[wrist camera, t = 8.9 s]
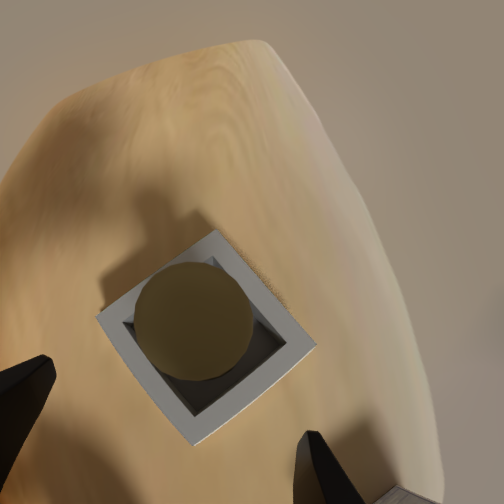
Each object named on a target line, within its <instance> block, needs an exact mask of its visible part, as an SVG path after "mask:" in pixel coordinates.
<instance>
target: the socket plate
mask: <svg viewBox="0 0 504 504" xmlns="http://www.w3.org/2000/svg"><path fill="white" fill-rule="evenodd" d="M183 262H201V263H207V264H210V265H212V266H215V267H217V268H220V269H222V270H224V271H225V272H226V273H227V274H229V275H230V276H231V277H232V278H234V279H235V280H236V281H237V282H238V284H239V285H240V286H241V288H242V289H243V291H244V292H245V294H246V295H247V297H248V299H249V303H250V306H251V309H252V313H253V334H252V337H251V340H250V342H249V345H248V348H247V351H246V352H245V353H244V355H243V356H242V357H241V358H240V360H239V361H238V362H237V363H236V365H235V366H234V367H233V368H232V370H231V371H229V372H228V373H226V374H225V375H223V376H221V377H220V378H216V379H212V380H208V381H206V380H202V381H192V380H180V379H177V378H175V377H173V376H170V375H168V374H166V373H163V372H161V371H160V370H159V369H158V368H157V367H156V366H155V365H153V364H152V363H151V362H150V361H149V360H148V359H147V358H146V356H145V354H144V353H143V351H142V349H141V347H140V346H139V344H138V342H137V337H136V333H135V328H134V323H133V320H134V311H135V304H136V301H137V299H138V297H139V295H140V293H141V290H142V288H143V287H144V286H145V285H146V283H147V282H148V281H149V280H150V279H151V278H152V277H153V276H154V275H155V274H156V273H158V272H160V271H161V270H163V269H165V268H167V267H168V266H170V265H174V264H179V263H183ZM95 317H96V319H97V320H98V322H99V324H100V325H101V327H102V329H103V330H104V332H105V333H106V335H107V337H108V338H109V340H110V341H111V343H112V344H113V346H114V347H115V349H116V351H117V352H118V353H119V355H120V356H121V358H122V359H123V361H124V362H125V364H126V365H127V367H128V368H129V369H130V371H131V372H132V374H133V375H134V376H135V378H136V379H137V380H138V382H139V383H140V384H141V386H142V387H143V388H144V390H145V391H146V392H147V394H148V395H149V396H150V397H151V399H152V400H153V401H154V403H155V404H156V405H157V406H158V408H159V409H160V410H161V411H162V412H163V414H164V415H165V416H166V417H167V418H168V420H169V421H170V422H171V423H172V424H173V425H174V426H175V428H176V429H177V430H178V431H179V432H180V433H181V434H182V435H183V437H184V438H185V439H186V440H187V441H188V442H189V443H190V444H191V445H192V446H193V445H194V446H195V445H197V444H198V443H200V442H201V441H202V440H204V439H205V438H207V437H208V436H209V435H211V434H212V433H214V432H215V431H216V430H218V429H219V428H220V427H222V426H223V425H224V424H226V423H227V422H228V421H230V420H231V419H232V418H234V417H235V416H236V415H237V414H239V413H240V412H241V411H243V410H244V409H245V408H246V407H248V406H249V405H250V404H251V403H253V402H254V401H255V400H256V399H257V398H259V397H260V396H261V395H262V394H264V393H265V392H266V391H267V390H268V389H269V388H271V387H272V386H273V385H274V384H275V383H276V382H278V381H279V380H280V379H281V378H282V377H283V376H285V375H286V374H287V373H288V372H289V371H290V370H291V369H292V368H294V367H295V366H296V365H297V364H298V363H299V362H300V361H301V360H302V359H303V358H304V357H306V356H307V355H308V354H309V353H310V352H311V351H312V350H313V349H314V348H315V346H316V345H317V344H316V343H315V342H314V340H313V339H312V338H311V337H310V336H309V335H308V334H307V332H306V331H305V330H304V329H303V328H302V327H301V326H300V324H299V323H298V322H297V321H296V320H295V319H294V318H293V317H292V315H291V314H290V313H289V312H288V311H287V310H286V309H285V307H284V306H283V305H282V304H281V303H280V302H279V301H278V299H277V298H276V297H275V296H274V295H273V294H272V292H271V291H270V290H269V289H268V288H267V287H266V286H265V284H264V283H263V282H262V281H261V280H260V279H259V278H258V276H257V275H256V274H255V273H254V272H253V271H252V269H251V268H250V267H249V266H248V265H247V264H246V262H245V261H244V260H243V259H242V258H241V257H240V256H239V254H238V253H237V252H236V251H235V250H234V249H233V247H232V246H231V245H230V244H229V243H228V242H227V240H226V239H225V238H224V237H223V236H222V235H221V233H220V232H219V231H218V230H217V229H215V230H214V231H212V232H211V233H210V234H208V235H207V236H205V237H204V238H202V239H201V240H199V241H198V242H197V243H195V244H194V245H192V246H191V247H189V248H188V249H187V250H185V251H184V252H182V253H181V254H179V255H178V256H177V257H175V258H174V259H172V260H171V261H170V262H168V263H167V264H165V265H164V266H163V267H161V268H160V269H158V270H157V271H156V272H154V273H153V274H152V275H150V276H149V277H147V278H146V279H145V280H143V281H142V282H141V283H139V284H138V285H136V286H135V287H134V288H132V289H131V290H130V291H128V292H127V293H126V294H124V295H123V296H122V297H120V298H119V299H118V300H116V301H115V302H114V303H112V304H111V305H110V306H108V307H107V308H106V309H104V310H103V311H102V312H100V313H99V314H98V315H97V316H95Z"/></svg>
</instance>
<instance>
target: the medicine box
mask: <svg viewBox="0 0 504 504" xmlns="http://www.w3.org/2000/svg"><path fill="white" fill-rule="evenodd" d="M373 504H440V503H437V502H435V501H432V500H430V499H428V498H425V497H423V496H421V495H418V494H416V493H413V492H411V491H409V490H407V489H405V488H402V487H401V486H399V485H396V486H395V487H394V488H392V489H391V490H390V491H389V492H387V493H386V494H385V495H384V496H382V497H381V498H380V499H378V500H377V501H376V502H374V503H373Z"/></svg>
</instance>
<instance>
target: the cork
mask: <svg viewBox="0 0 504 504" xmlns="http://www.w3.org/2000/svg"><path fill="white" fill-rule="evenodd" d="M133 323H134V328H135V333H136V337H137V342H138V344H139V346H140V347H141V349H142V351H143V353H144V354H145V356H146V358H147V359H148V360H149V361H150V362H151V363H152V364H153V365H155V366H156V367H157V368H158V369H159V370H160V371H161V372H163V373H166V374H168V375H170V376H173V377H175V378H177V379H180V380H192V381H202V380H206V381H208V380H212V379H216V378H220V377H221V376H223V375H225V374H226V373H228V372H229V371H231V370H232V368H233V367H234V366H235V365H236V363H237V362H238V361H239V360H240V358H241V357H242V356H243V355H244V353H245V352H246V351H247V348H248V345H249V342H250V340H251V337H252V334H253V313H252V309H251V306H250V303H249V299H248V297H247V295H246V294H245V292H244V291H243V289H242V288H241V286H240V285H239V284H238V282H237V281H236V280H235V279H234V278H232V277H231V276H230V275H229V274H227V273H226V272H225V271H224V270H222V269H220V268H217V267H215V266H212V265H210V264H207V263H201V262H183V263H179V264H174V265H170V266H168V267H167V268H165V269H163V270H161V271H160V272H158V273H156V274H155V275H154V276H153V277H152V278H151V279H150V280H149V281H148V282H147V283H146V285H145V286H144V287H143V288H142V290H141V293H140V295H139V297H138V299H137V301H136V304H135V311H134V320H133Z"/></svg>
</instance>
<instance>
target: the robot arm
mask: <svg viewBox="0 0 504 504" xmlns="http://www.w3.org/2000/svg"><path fill="white" fill-rule="evenodd" d="M55 380H56V370H55V367H54V363H53V360H52V359H51V358H50V357H48V356H46V355H43V354H42V355H39V356H37V357H34V358H32V359H30V360H27V361H25V362H22V363H20V364H18V365H15V366H13V367H10V368H8V369H6V370H3V371H1V372H0V492H1V490H2V488H3V485H4V483H5V481H6V478H7V476H8V474H9V472H10V470H11V468H12V466H13V464H14V462H15V460H16V458H17V456H18V454H19V452H20V450H21V448H22V446H23V444H24V442H25V440H26V438H27V436H28V434H29V433H30V431H31V429H32V427H33V425H34V423H35V422H36V420H37V418H38V416H39V415H40V413H41V411H42V409H43V407H44V404H45V402H46V400H47V398H48V395H49V393H50V391H51V389H52V386H53V384H54V382H55ZM293 504H366V503H365V502H364V501H363V499H362V498H361V496H360V495H359V493H358V492H357V490H356V489H355V487H354V485H353V484H352V482H351V481H350V479H349V478H348V476H347V475H346V473H345V472H344V470H343V469H342V467H341V466H340V464H339V462H338V461H337V459H336V458H335V456H334V455H333V453H332V451H331V450H330V448H329V447H328V445H327V444H326V442H325V440H324V439H323V437H322V436H321V434H320V433H319V432H318V431H311V430H307V431H306V432H305V433H304V435H303V436H302V438H301V439H300V441H299V443H298V445H297V452H296V462H295V472H294V481H293Z"/></svg>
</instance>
